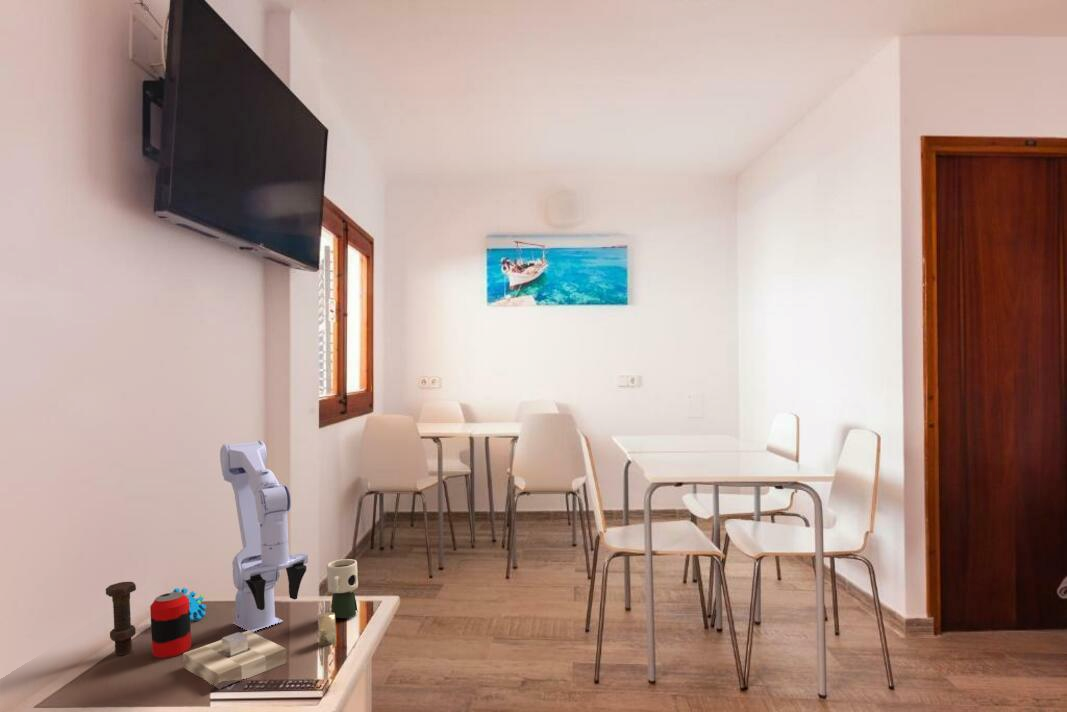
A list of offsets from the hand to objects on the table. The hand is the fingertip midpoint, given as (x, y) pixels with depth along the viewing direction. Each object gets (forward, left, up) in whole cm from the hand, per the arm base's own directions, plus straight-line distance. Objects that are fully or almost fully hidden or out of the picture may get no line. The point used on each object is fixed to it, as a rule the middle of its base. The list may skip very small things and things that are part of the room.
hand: (277, 603), depth 150 cm
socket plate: (+1, -11, -9) cm, 14 cm away
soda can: (-18, -16, -10) cm, 25 cm away
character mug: (-3, +18, -10) cm, 21 cm away
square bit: (+2, -11, -9) cm, 14 cm away
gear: (-35, -5, -10) cm, 36 cm away
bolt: (-26, -23, -10) cm, 35 cm away
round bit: (+7, +7, -9) cm, 14 cm away
